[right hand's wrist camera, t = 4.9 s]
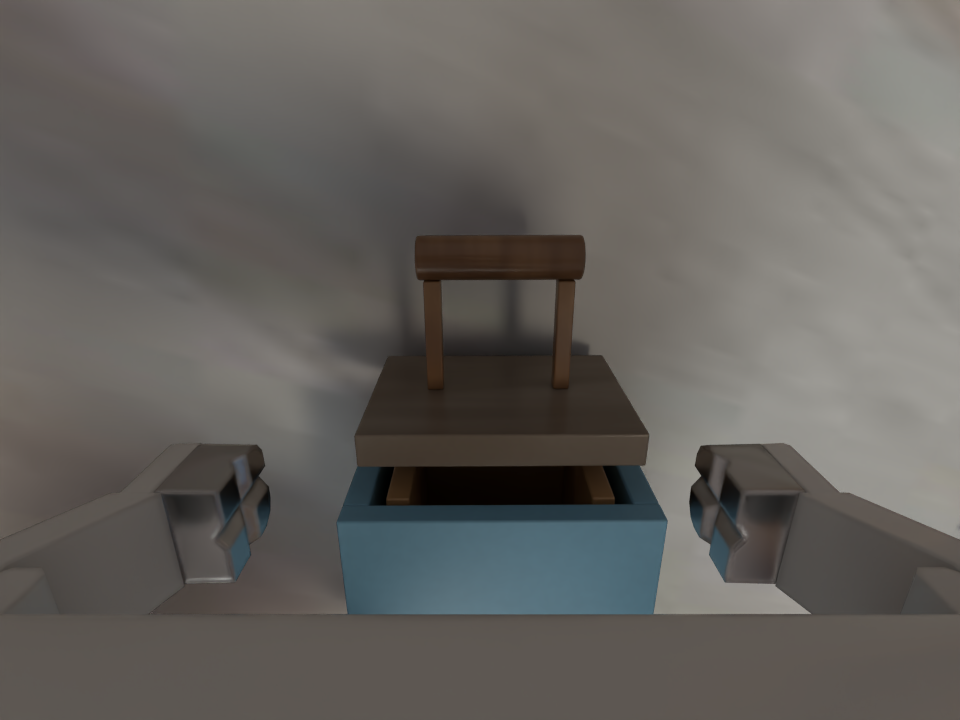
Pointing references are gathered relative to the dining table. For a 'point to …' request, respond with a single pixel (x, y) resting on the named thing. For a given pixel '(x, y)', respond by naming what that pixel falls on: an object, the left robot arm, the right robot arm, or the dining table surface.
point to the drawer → (499, 396)
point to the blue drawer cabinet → (501, 552)
